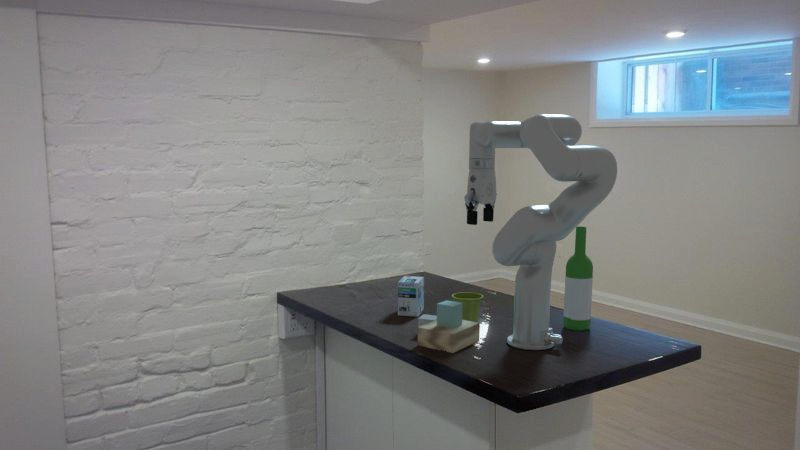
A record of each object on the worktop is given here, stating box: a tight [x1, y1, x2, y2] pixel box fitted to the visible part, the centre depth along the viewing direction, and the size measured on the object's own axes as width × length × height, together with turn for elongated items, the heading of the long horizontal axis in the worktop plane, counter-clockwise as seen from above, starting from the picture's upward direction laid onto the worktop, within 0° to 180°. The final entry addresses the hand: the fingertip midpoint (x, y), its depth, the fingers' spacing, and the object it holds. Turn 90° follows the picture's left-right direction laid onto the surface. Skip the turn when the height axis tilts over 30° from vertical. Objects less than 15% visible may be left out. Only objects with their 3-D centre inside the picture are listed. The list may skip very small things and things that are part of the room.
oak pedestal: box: [417, 320, 481, 354], centre depth 191 cm, size 11×14×5 cm
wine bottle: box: [562, 226, 594, 332], centre depth 206 cm, size 8×8×30 cm
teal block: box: [436, 299, 463, 329], centre depth 191 cm, size 5×5×6 cm
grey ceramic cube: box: [417, 313, 437, 328], centre depth 200 cm, size 5×5×5 cm
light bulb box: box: [397, 275, 425, 318], centre depth 223 cm, size 11×7×11 cm, turn 168°
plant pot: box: [451, 291, 484, 323], centre depth 211 cm, size 9×9×9 cm
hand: (480, 222), depth 209 cm, fingers open, 9 cm apart
